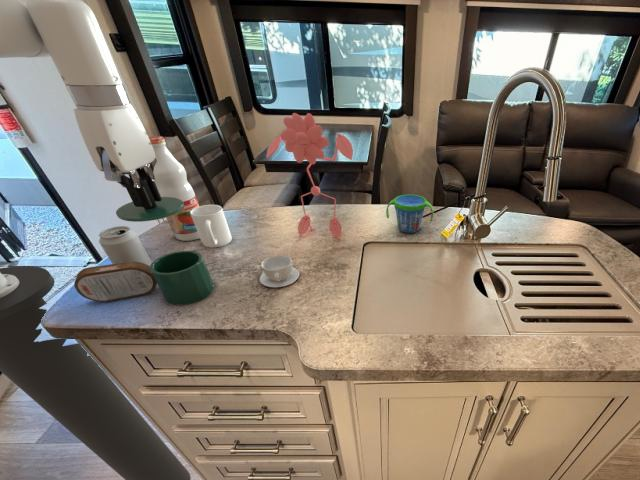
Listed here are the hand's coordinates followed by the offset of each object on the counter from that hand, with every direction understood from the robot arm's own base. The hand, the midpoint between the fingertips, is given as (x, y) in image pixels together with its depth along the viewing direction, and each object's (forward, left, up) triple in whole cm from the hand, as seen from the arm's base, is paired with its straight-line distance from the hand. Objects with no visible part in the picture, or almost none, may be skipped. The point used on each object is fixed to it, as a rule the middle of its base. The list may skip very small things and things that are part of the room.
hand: (148, 202), depth 65 cm
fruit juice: (-4, +32, -22) cm, 39 cm away
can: (-14, +12, -22) cm, 29 cm away
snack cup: (+64, +17, -22) cm, 70 cm away
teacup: (+21, -1, -22) cm, 31 cm away
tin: (-13, +2, -22) cm, 26 cm away
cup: (+4, +23, -22) cm, 33 cm away
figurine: (+33, +17, -22) cm, 44 cm away
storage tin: (0, -1, -22) cm, 22 cm away
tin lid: (0, 0, -1) cm, 1 cm away
